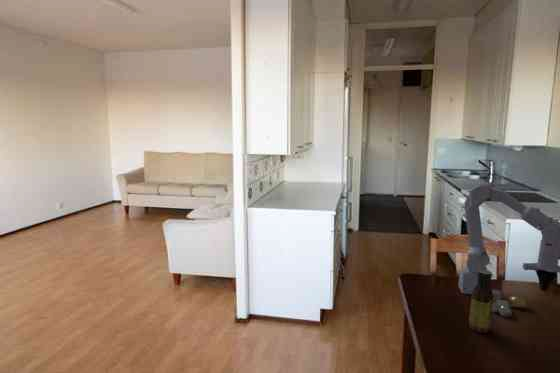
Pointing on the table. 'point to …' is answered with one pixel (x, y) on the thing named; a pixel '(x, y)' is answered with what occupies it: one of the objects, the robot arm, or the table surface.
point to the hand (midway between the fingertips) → (543, 290)
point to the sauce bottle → (481, 303)
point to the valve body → (500, 304)
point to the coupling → (517, 302)
